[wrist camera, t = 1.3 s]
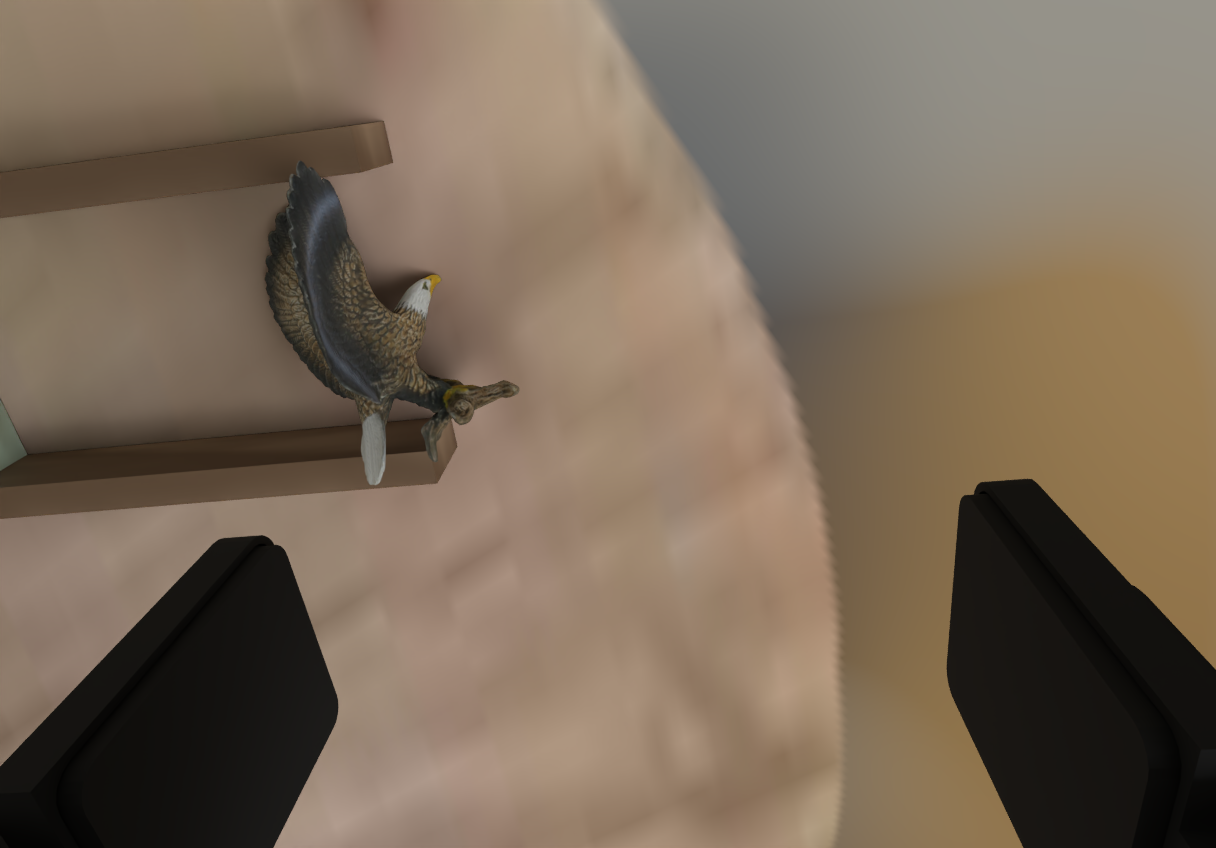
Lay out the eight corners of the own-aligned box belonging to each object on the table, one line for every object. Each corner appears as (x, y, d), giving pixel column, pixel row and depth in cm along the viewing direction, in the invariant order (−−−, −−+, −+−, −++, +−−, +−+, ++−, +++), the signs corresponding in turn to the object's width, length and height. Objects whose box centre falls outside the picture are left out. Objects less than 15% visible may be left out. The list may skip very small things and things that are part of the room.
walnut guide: (457, 446, 30) (429, 497, 26) (8, 485, 32) (-76, 537, 28) (383, 121, 25) (336, 128, 21) (-141, 191, 27) (-265, 208, 23)
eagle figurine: (566, 306, 26) (348, 105, 22) (482, 472, 22) (198, 261, 18) (454, 373, 31) (264, 221, 28) (370, 516, 27) (134, 361, 24)
